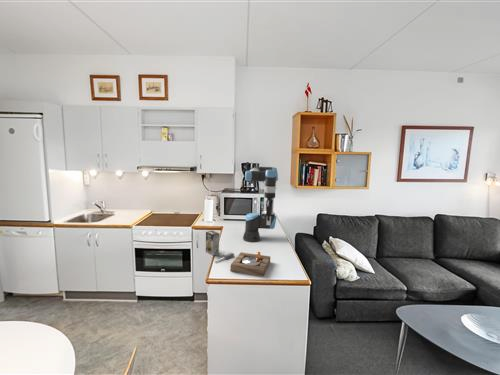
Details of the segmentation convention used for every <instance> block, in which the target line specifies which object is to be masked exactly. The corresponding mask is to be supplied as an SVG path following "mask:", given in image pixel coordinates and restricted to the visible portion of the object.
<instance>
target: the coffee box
mask: <svg viewBox="0 0 500 375" xmlns="http://www.w3.org/2000/svg"><path fill="white" fill-rule="evenodd" d="M205 253H206V254H209V255H210V256H216V255H219V254H220V233H219V232H216V231H215V230H209V231H206V232H205Z"/></svg>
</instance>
